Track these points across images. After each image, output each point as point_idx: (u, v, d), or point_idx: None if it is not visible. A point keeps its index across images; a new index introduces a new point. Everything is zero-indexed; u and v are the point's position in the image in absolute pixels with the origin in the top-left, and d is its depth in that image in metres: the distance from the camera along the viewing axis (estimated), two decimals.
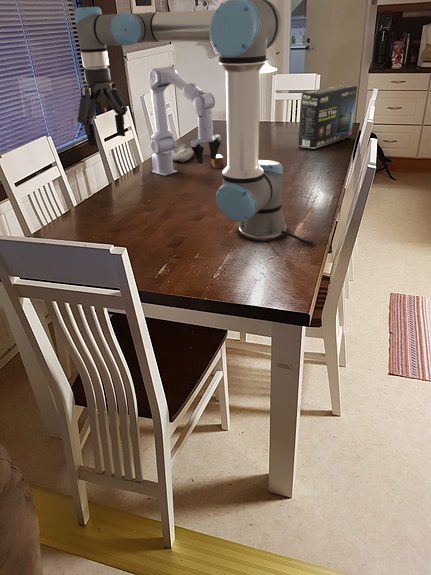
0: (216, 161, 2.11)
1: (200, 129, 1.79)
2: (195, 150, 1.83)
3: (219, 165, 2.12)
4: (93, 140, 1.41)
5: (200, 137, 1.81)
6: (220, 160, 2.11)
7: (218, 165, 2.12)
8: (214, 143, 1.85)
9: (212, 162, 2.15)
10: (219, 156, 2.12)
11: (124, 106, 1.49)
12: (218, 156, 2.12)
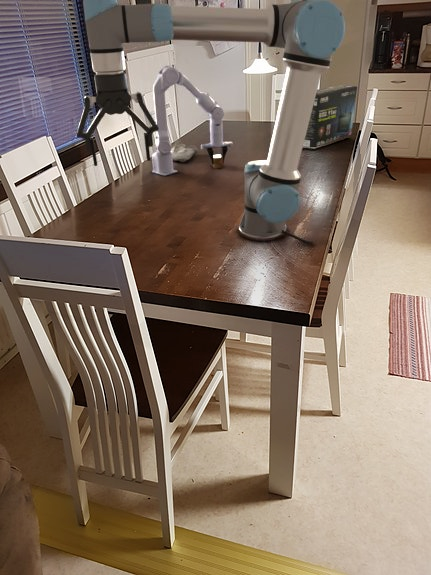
0: (216, 161, 2.11)
1: None
2: None
3: (219, 165, 2.12)
4: (93, 159, 1.16)
5: None
6: (220, 160, 2.11)
7: (218, 165, 2.12)
8: None
9: None
10: (219, 156, 2.12)
11: (153, 124, 1.15)
12: (218, 156, 2.12)
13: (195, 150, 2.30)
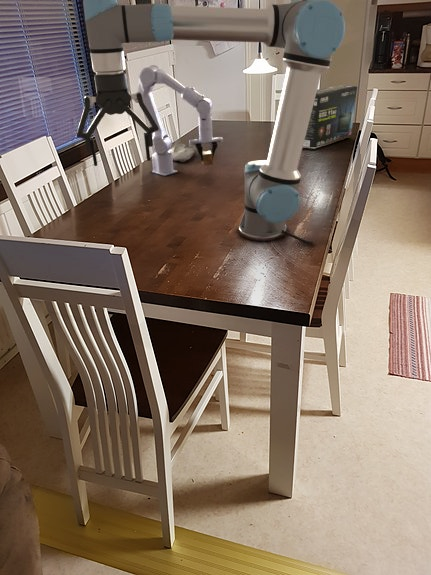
0: (205, 157, 2.00)
1: None
2: None
3: (208, 162, 2.01)
4: (93, 159, 1.16)
5: None
6: (209, 156, 2.00)
7: (208, 162, 2.01)
8: None
9: None
10: (208, 152, 2.01)
11: (153, 124, 1.15)
12: (207, 152, 2.01)
13: (195, 150, 2.30)
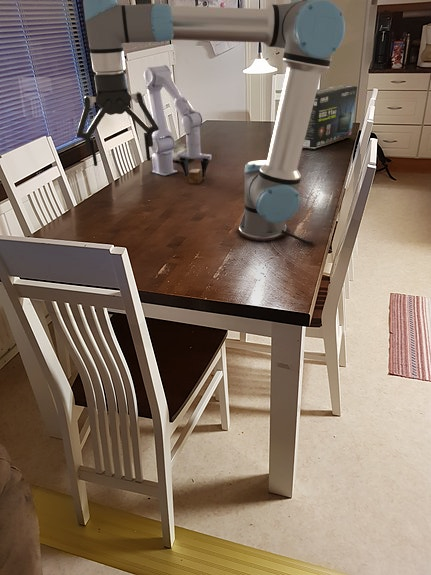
0: (191, 176, 1.94)
1: None
2: None
3: (194, 181, 1.94)
4: (93, 159, 1.16)
5: (200, 152, 1.90)
6: (195, 175, 1.93)
7: (193, 180, 1.94)
8: (186, 159, 1.94)
9: None
10: (196, 171, 1.94)
11: (153, 124, 1.15)
12: (195, 171, 1.94)
13: None
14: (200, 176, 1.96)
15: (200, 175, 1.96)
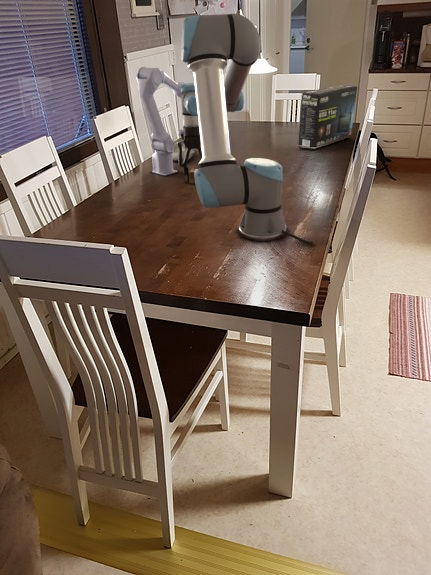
0: (191, 176, 1.94)
1: None
2: None
3: (194, 181, 1.94)
4: (187, 178, 1.95)
5: None
6: None
7: (193, 180, 1.94)
8: None
9: None
10: None
11: None
12: None
13: (195, 150, 2.30)
14: None
15: None
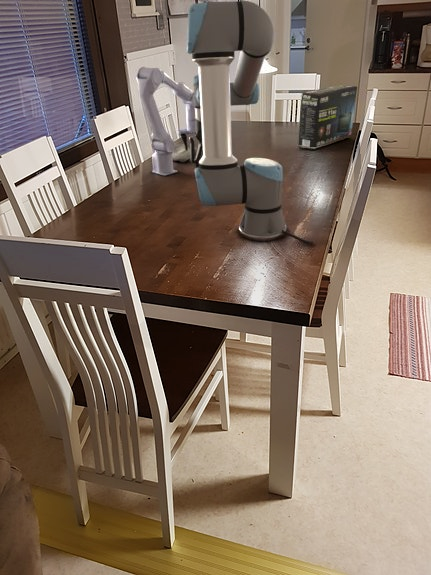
0: None
1: None
2: None
3: None
4: None
5: None
6: None
7: None
8: None
9: None
10: None
11: None
12: None
13: (195, 150, 2.30)
14: None
15: None
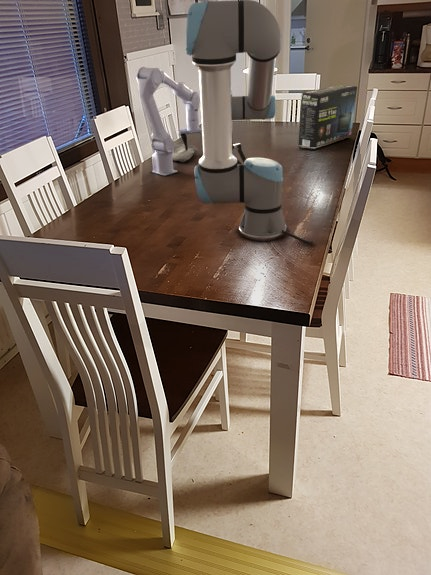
0: None
1: None
2: None
3: None
4: None
5: None
6: None
7: None
8: None
9: None
10: None
11: None
12: None
13: (195, 150, 2.30)
14: None
15: None
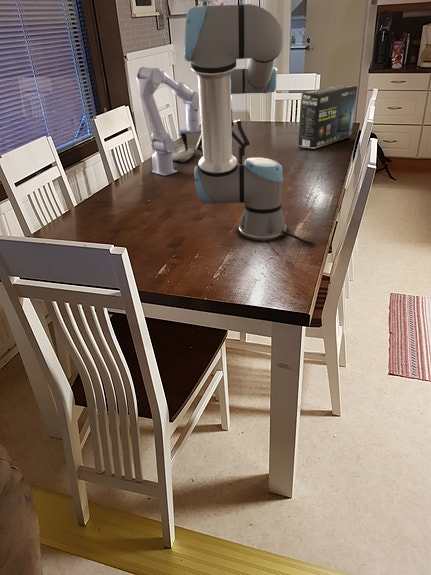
0: None
1: None
2: None
3: None
4: None
5: None
6: None
7: None
8: None
9: None
10: None
11: (246, 141, 1.72)
12: None
13: (195, 150, 2.30)
14: None
15: None
